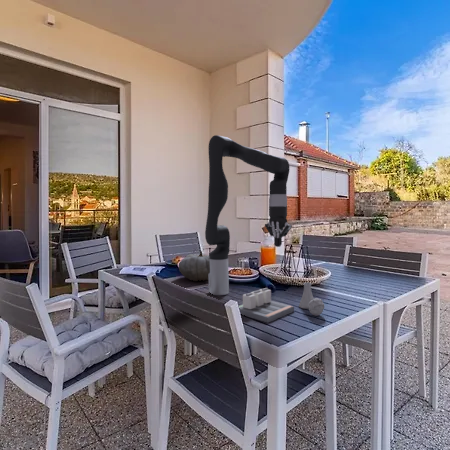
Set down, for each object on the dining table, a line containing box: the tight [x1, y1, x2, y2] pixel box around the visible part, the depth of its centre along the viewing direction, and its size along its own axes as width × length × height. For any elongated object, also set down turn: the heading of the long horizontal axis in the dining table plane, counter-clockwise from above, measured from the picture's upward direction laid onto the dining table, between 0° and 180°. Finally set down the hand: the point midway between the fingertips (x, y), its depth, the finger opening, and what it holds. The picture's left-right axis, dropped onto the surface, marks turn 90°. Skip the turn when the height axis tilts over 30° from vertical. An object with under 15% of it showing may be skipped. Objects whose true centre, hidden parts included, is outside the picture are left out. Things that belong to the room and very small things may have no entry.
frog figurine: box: [308, 297, 325, 317], centre depth 124 cm, size 6×7×7 cm
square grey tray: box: [238, 300, 295, 323], centre depth 130 cm, size 17×17×2 cm
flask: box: [298, 282, 315, 310], centre depth 135 cm, size 7×7×10 cm
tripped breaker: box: [250, 289, 264, 306], centre depth 132 cm, size 4×3×6 cm
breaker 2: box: [259, 287, 272, 304], centre depth 136 cm, size 4×3×6 cm
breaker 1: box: [242, 292, 256, 309], centre depth 129 cm, size 4×3×6 cm
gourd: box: [178, 250, 210, 282], centre depth 189 cm, size 25×25×17 cm
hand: (277, 246), depth 136 cm, fingers closed
